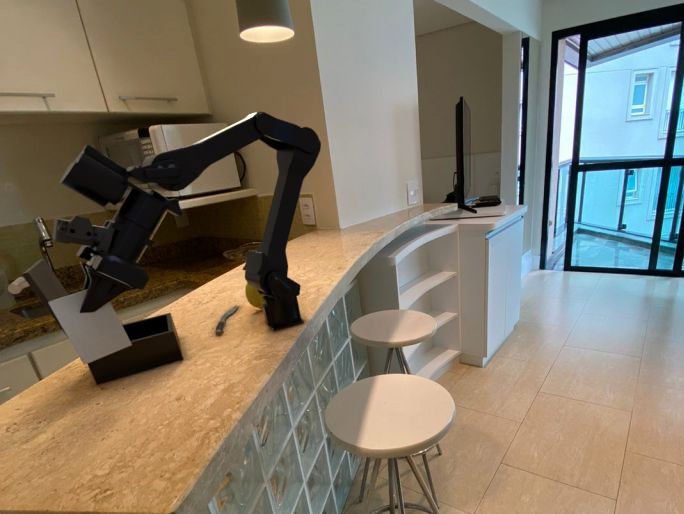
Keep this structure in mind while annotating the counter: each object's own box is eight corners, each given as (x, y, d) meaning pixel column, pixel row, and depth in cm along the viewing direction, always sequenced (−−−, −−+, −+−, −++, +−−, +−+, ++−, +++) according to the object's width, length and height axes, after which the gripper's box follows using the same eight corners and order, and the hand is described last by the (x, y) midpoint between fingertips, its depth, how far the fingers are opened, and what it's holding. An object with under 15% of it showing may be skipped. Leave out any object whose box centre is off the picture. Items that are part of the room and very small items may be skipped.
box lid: (43, 258, 69) (14, 268, 68) (27, 272, 60) (-8, 284, 58) (92, 328, 76) (66, 339, 74) (84, 351, 66) (54, 364, 65)
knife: (229, 329, 83) (213, 332, 82) (229, 333, 83) (214, 335, 82) (238, 304, 98) (225, 305, 97) (238, 306, 98) (225, 308, 98)
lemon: (267, 313, 91) (259, 279, 88) (245, 314, 93) (237, 280, 89) (278, 304, 96) (271, 272, 93) (257, 305, 98) (249, 273, 94)
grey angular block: (131, 344, 65) (102, 287, 61) (83, 364, 61) (49, 304, 57) (126, 339, 67) (98, 283, 63) (80, 357, 64) (46, 299, 59)
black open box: (179, 338, 84) (170, 312, 81) (183, 359, 74) (173, 331, 72) (102, 359, 78) (91, 331, 76) (96, 385, 68) (83, 355, 66)
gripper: (67, 193, 64) (12, 280, 62) (87, 193, 51) (18, 304, 49) (139, 231, 72) (93, 310, 70) (172, 240, 59) (116, 337, 57)
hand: (81, 314), depth 61 cm, fingers closed on grey angular block
